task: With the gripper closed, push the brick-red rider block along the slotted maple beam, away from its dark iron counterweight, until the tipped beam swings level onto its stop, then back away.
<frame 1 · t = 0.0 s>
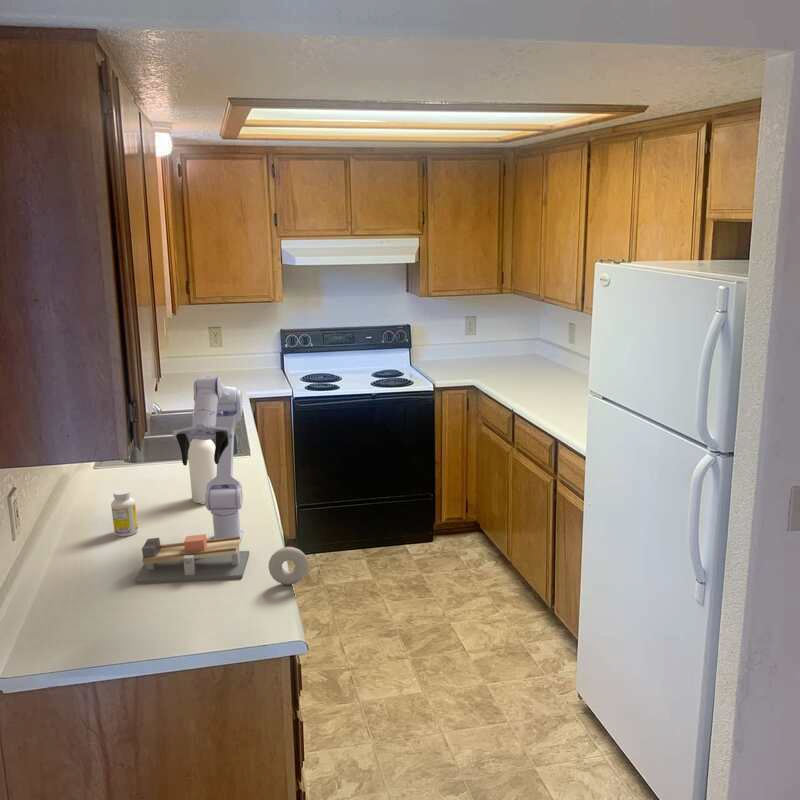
hand: (200, 462, 195), 32 cm above the countertop, tool tilted 50°, fingers open, 7 cm apart
rider: (196, 548, 210), point 6 cm above the countertop, touching beam
supplement bottle: (126, 533, 236), on the countertop
donut: (289, 584, 201), on the countertop
beam: (191, 545, 210), point 6 cm above the countertop, hinge at 4.0°, touching rider
alcohol: (206, 500, 262), on the countertop
tilt stand: (194, 568, 211), on the countertop
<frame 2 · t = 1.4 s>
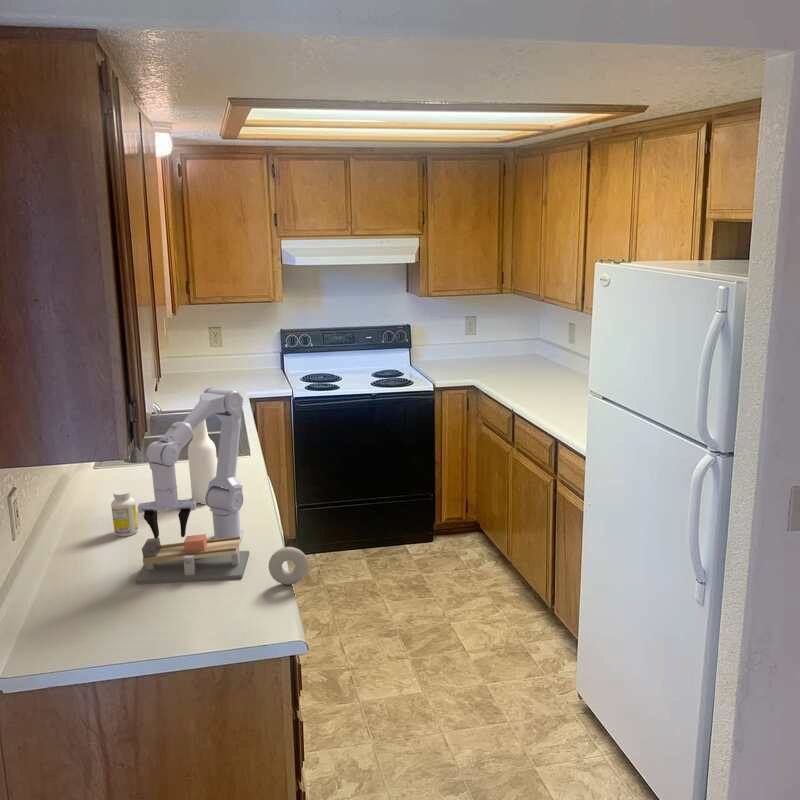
hand: (170, 536, 209), 9 cm above the countertop, tool pointing down, fingers open, 6 cm apart
nothing on the countertop moved.
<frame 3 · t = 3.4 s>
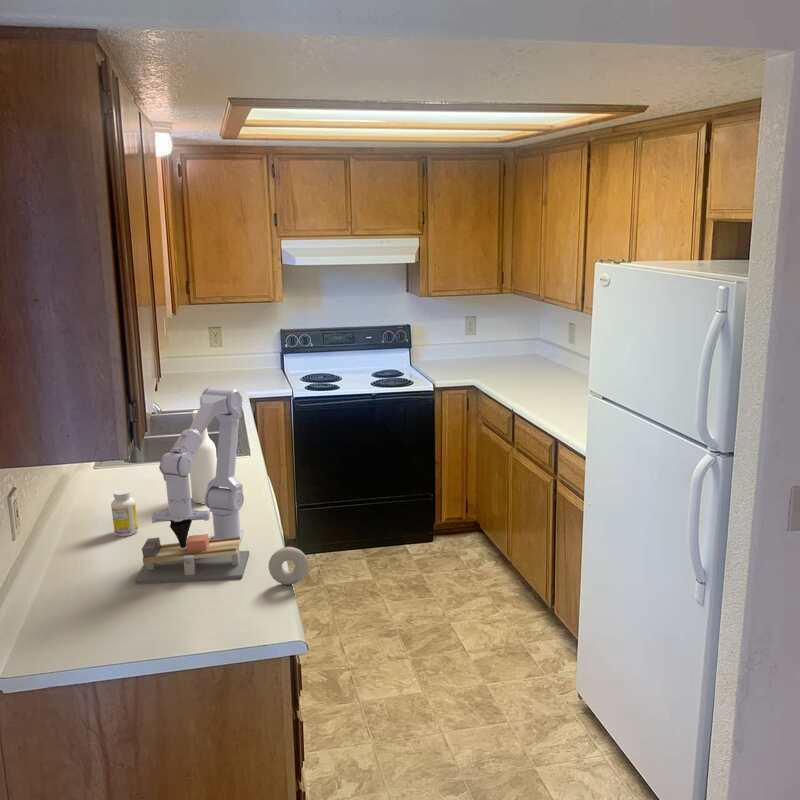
hand: (183, 546, 210), 6 cm above the countertop, tool pointing down, fingers closed
rider: (198, 548, 210), point 6 cm above the countertop, touching gripper
beam: (192, 545, 210), point 6 cm above the countertop, hinge at 3.7°
everything else where it was.
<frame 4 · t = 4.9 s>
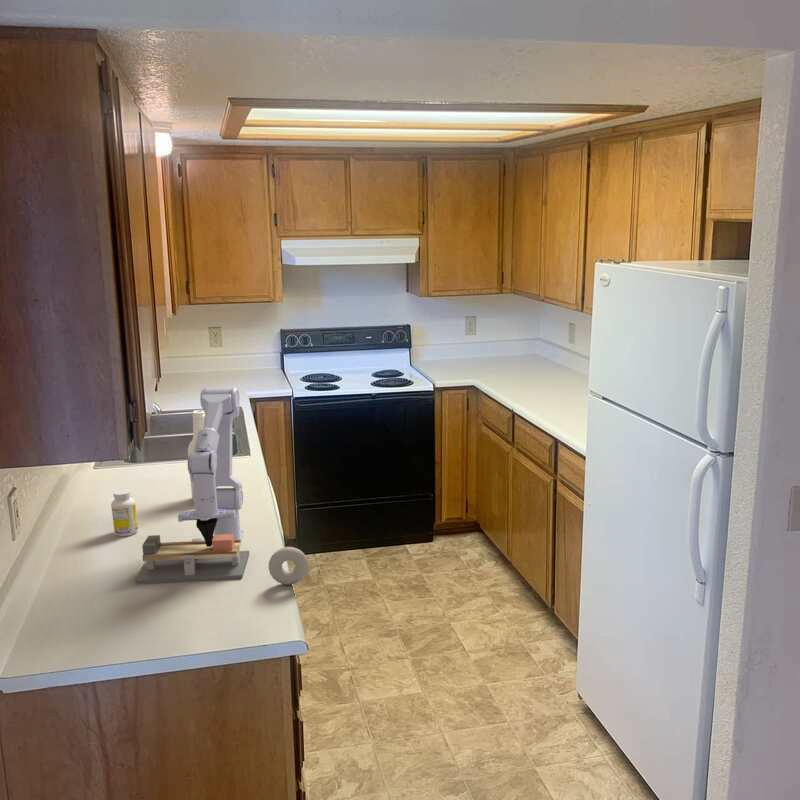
hand: (209, 545, 210), 6 cm above the countertop, tool pointing down, fingers closed
rider: (223, 547, 210), point 5 cm above the countertop, touching beam, gripper
beam: (192, 545, 210), point 6 cm above the countertop, hinge at -0.3°, touching rider
everything else where it was.
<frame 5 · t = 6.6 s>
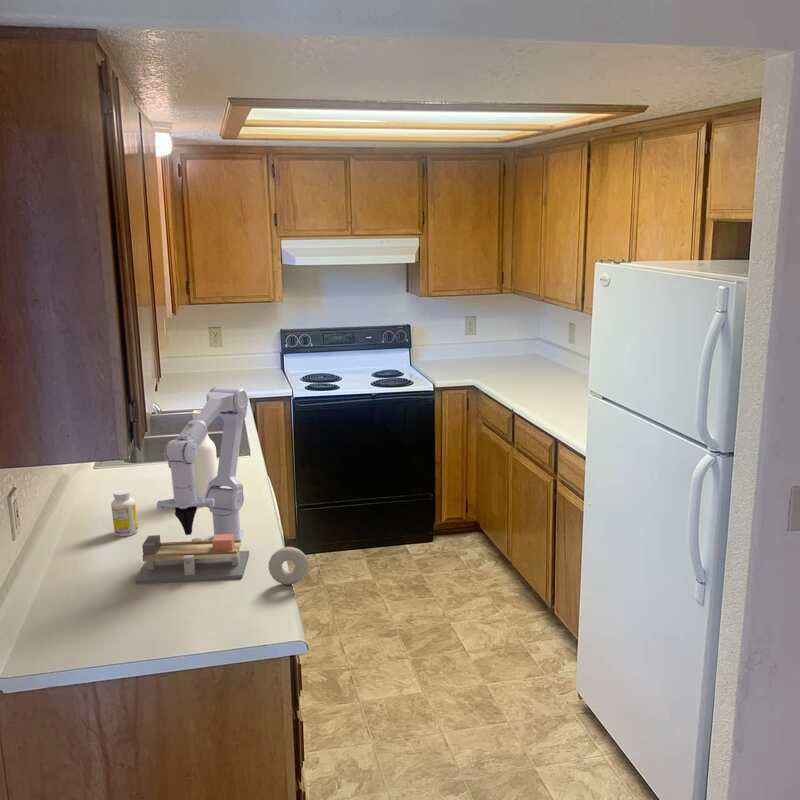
hand: (188, 533, 211), 9 cm above the countertop, tool pointing down, fingers closed
rider: (223, 547, 210), point 5 cm above the countertop, touching beam
everything else where it was.
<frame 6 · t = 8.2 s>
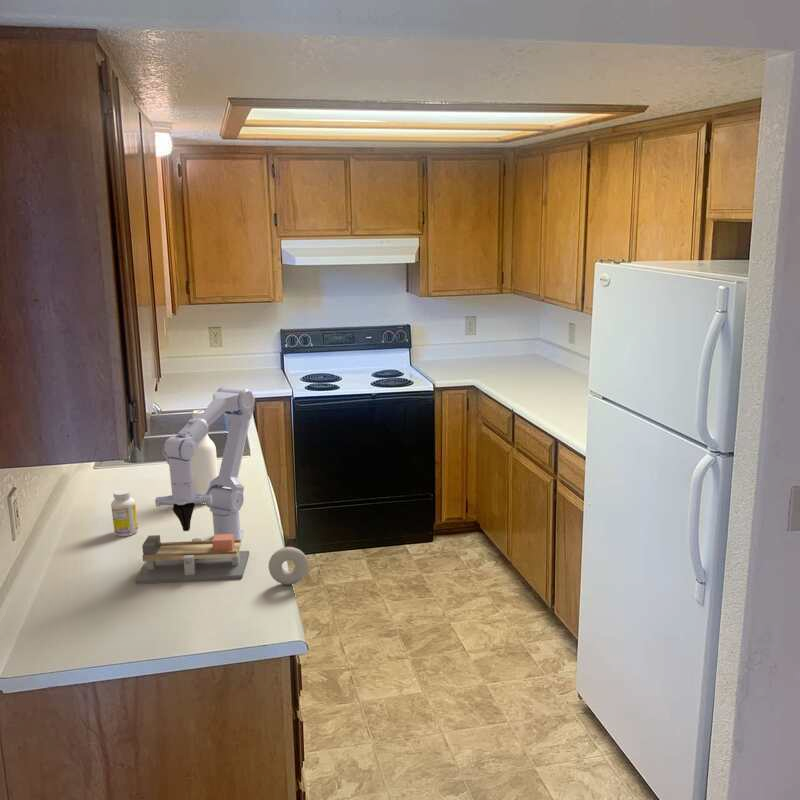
hand: (186, 529, 213), 9 cm above the countertop, tool pointing down, fingers closed
nothing on the countertop moved.
at the end: beam at +0° (first picture: +4°); rider inside the target area on the beam (0.6 cm from its centre), point 0.5 cm above the beam's base; rider tilted 0° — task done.
